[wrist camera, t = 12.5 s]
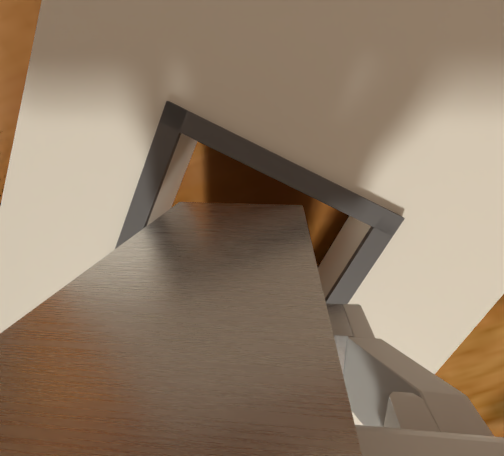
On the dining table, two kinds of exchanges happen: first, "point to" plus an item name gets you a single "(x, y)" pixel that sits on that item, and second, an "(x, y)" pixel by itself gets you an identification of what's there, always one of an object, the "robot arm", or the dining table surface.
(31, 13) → the dining table surface
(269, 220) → the square peg
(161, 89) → the socket board
